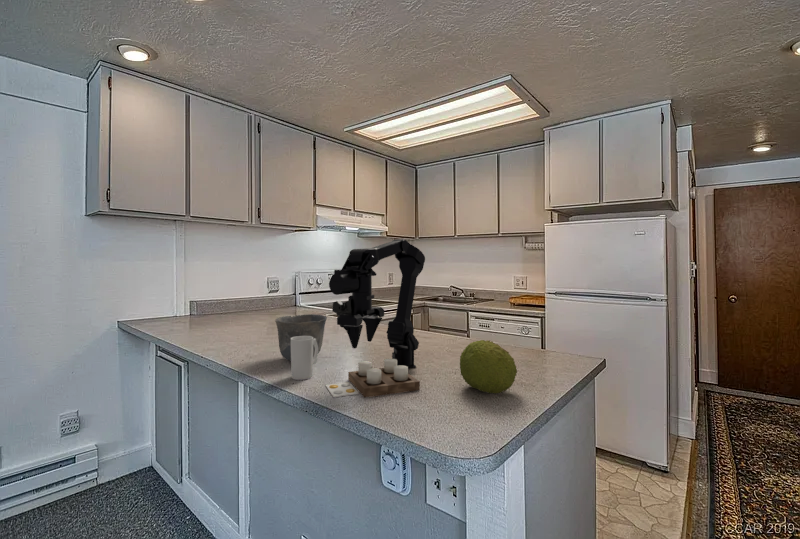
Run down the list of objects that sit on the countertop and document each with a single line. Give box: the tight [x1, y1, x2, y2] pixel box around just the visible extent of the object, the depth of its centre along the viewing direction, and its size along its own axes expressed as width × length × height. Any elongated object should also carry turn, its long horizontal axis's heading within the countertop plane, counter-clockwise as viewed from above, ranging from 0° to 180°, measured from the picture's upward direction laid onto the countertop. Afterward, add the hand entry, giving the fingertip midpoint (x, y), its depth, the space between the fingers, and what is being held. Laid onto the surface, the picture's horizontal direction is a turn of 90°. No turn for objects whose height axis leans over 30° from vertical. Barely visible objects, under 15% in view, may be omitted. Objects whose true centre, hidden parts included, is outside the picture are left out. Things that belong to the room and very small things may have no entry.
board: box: [347, 367, 421, 399], centre depth 113 cm, size 16×16×2 cm
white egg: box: [357, 360, 373, 376], centre depth 115 cm, size 4×4×3 cm
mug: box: [290, 336, 319, 381], centre depth 122 cm, size 10×7×12 cm, turn 147°
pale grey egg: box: [383, 358, 397, 373], centre depth 118 cm, size 4×4×3 cm
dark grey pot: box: [274, 313, 327, 362], centre depth 140 cm, size 18×18×15 cm
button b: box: [394, 365, 409, 381], centre depth 111 cm, size 4×4×3 cm
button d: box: [367, 367, 381, 384], centre depth 108 cm, size 4×4×3 cm
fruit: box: [459, 339, 518, 395], centre depth 109 cm, size 16×14×15 cm
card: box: [325, 381, 360, 399], centre depth 109 cm, size 7×10×1 cm
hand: (362, 344), depth 116 cm, fingers open, 9 cm apart
